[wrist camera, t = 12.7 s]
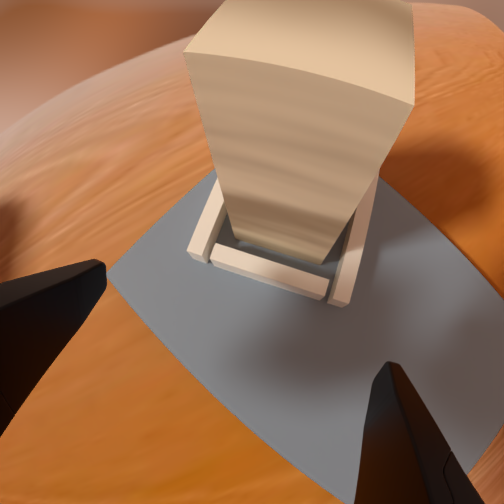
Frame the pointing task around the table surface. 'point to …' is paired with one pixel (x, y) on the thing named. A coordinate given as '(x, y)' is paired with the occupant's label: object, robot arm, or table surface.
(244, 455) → the table surface
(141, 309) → the plate
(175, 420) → the table surface
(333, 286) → the socket
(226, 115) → the birch pillar
